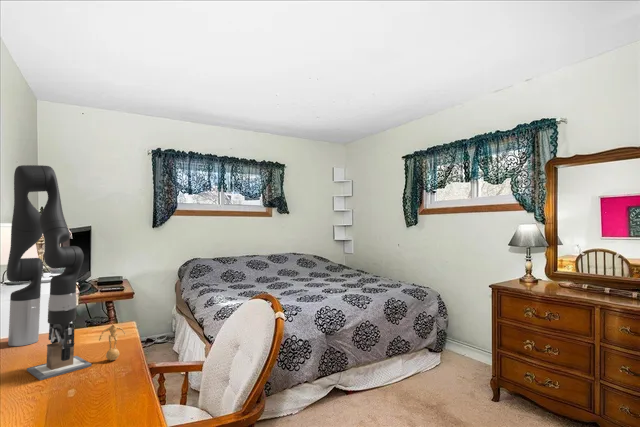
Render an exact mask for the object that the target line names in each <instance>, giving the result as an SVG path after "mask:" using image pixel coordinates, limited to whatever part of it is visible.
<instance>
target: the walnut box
mask: <svg viewBox="0 0 640 427" xmlns="http://www.w3.org/2000/svg"><path fill="white" fill-rule="evenodd" d="M67 344H68V342H67ZM75 344H76V342H74V345H75ZM61 350H62V348H61V344H60V343H59V342H57V343H49V344H48V343H47V344H46V367H48V368H49V369H51V370H54V369H58V368H61V367H65V366H69V365H73V358H74V356H75V355H74V353H75V351H74V350H75V346H74V347H71V348H70V359H69V360H66V361H62V360H61Z"/></svg>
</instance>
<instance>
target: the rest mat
mask: <svg viewBox="0 0 640 427" xmlns="http://www.w3.org/2000/svg"><path fill="white" fill-rule="evenodd" d="M46 363H47V362H46ZM46 363H42V364H38V365H33V366H30V367H27V368H26V371H27V372H28V373H29V374H31V375H32V376H34V378H36V379H37V380H39V381H43V380H47V379H51V378H55V377H58V376H61V375H64V374H67V373H71V372H75V371H78V370H83V369H86V368H89V367H93V366H92V363H91V362H89V361H87V360H86V359H84V358H83V357H80V356H78V355H74V358H73V365H69V366H65V367H61V368H58V369H54V370H51V369H49V368H48V367H46Z"/></svg>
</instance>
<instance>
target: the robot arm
mask: <svg viewBox="0 0 640 427" xmlns="http://www.w3.org/2000/svg"><path fill="white" fill-rule="evenodd" d="M34 192H35V193H36V192H37V193H38V192H46V193H47V201H46V204H45V206H44V207H43V210H42V212H41V213H40V211H39V210H38V209H37V208H36V207H35V206H34V204H32V202H31V201H30V199H29V193H34ZM13 200H14V201H13V212H12V220H11V227H10V228H11V230H10V249H9V254H8V260H7V266H6V278H7V281H8V282H9V283H10V282H11V283H23V282H24V283H25V282H26V283H27V282H30V283H29V284H28V285H26V286H25V287H23V288H20V289H18V290H15V291H12V292H11V293H10V300H9V317H8V318H9V321H8V337H7V338H8V340H7V341H8V342H7V343H8V344H7V345H8V346H10V347H22V346H27V345H32V344H35V343H37V342H38V341H39V337H40V334H39V333H40V332H39V331H40V313H41V292H42V290H41V289H42V288H41V287H42V286H41V285H42V277H43V270H44V269H43V266H44V265H43V261H44V263H45V264H46V266H48V268H50V269H54V270H55V269H64V268H65V269H64V270H63V272H61V273H59V274H57V275H54V276H52V277H51V279H50V282H49V283H50V284H49V297H48V303H47V304H48V308H47V324H49V327H48V328H49V329H48V341H50V344H52V343H57V342H59V343H60V344H61V348H62V350H61V360H62V361H66V360H69V359H70V348H71V347H74V348H75V344H74V343H75V327H70V325H71V323H72V322H74V321H75V320H76V318H77V281H78V278H79V275H80V272H81V269H82V265H83V262H84V258H85V254H84V252H83V250H82V248H81V247H80V246H76V245H70V246H69V245H67V246H61V245H60V244H63V243H66V242H67V241H69V239H70V238H71V234H70V233H71V232H70V230H69V227H68V225H67V221H66V219H65V216H64V212H63V207H62V206H63V205H62V200H61V194H60V189H59V183H58V178H57V175H56V172H55V170H54V169H53V167H51V166H50V165H44V164H43V165H38V164H37V165H35V164H34V165H33V164H32V165H31V164H30V165H29V164H27V165H26V164H24V165H18V166H16V168H15V169H14V175H13ZM42 237H43V239H44V255H43V257H44V258H43V259H44V260H42V258H40V257H28V258H27V257H25V258H24V257H23V256H24V254H25V253H26V252H27V251H28V250H30V248H33V246H34V245H36V243H38V242H39V241H40V240H41V238H42ZM22 257H23V258H22ZM67 342H68V344H67Z"/></svg>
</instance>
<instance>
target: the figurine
mask: <svg viewBox="0 0 640 427" xmlns="http://www.w3.org/2000/svg"><path fill="white" fill-rule="evenodd" d="M117 330H121V331H122V333H123V334H124V336H125V338H127V334H126V332H125V330H124V328H122V327H119V326H117V325H115V324H112V325H110V326H109V327H107V328H105V329H104V330H103V331H102V332H101V335H99V338H98V341H101V340H102V337H103V334H104V333H105V332H108V331H109V333H110V334H109V335H108V343H109V349H108V351H107V352H106V354H105V357H106V359H107V360H108V361H116V360H117V359H118V358H119V357H120V351H119V349H118V348H117V347H116V346H117V345H116V344H117V342H118V334H116V332H117ZM113 340H114V346H113V348H112V341H113Z"/></svg>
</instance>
